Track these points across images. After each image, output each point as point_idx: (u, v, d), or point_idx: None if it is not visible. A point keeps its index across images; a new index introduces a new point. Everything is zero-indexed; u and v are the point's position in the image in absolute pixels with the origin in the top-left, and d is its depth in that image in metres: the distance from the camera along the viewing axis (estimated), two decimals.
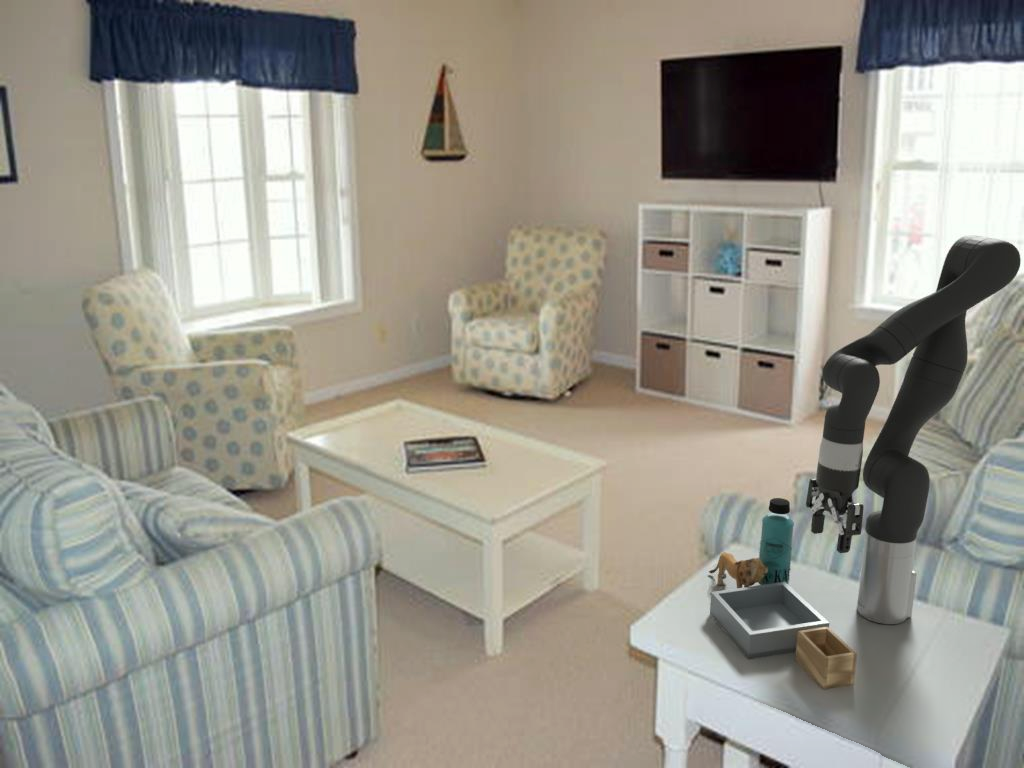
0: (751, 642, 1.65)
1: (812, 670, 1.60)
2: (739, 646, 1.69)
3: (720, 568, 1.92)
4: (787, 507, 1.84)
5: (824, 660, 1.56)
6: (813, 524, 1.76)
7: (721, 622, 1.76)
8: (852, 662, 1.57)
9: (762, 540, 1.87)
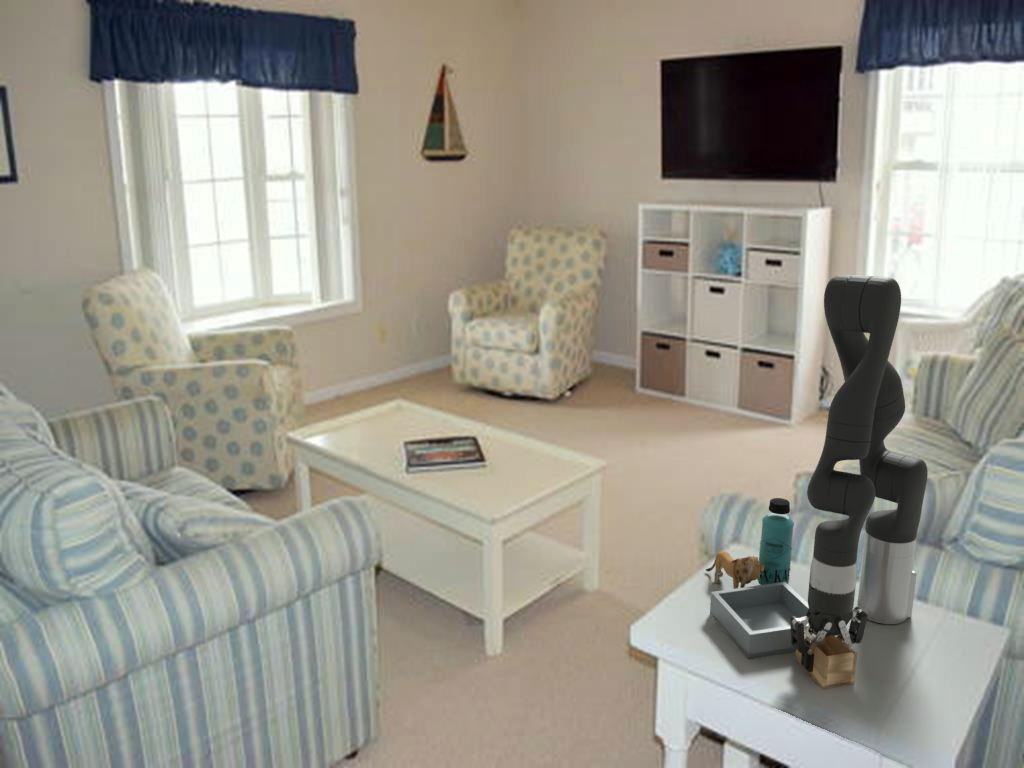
0: (751, 642, 1.65)
1: None
2: (739, 646, 1.69)
3: (717, 566, 1.93)
4: (787, 507, 1.84)
5: (824, 660, 1.56)
6: (812, 663, 1.60)
7: (721, 622, 1.76)
8: (852, 662, 1.57)
9: (762, 540, 1.87)
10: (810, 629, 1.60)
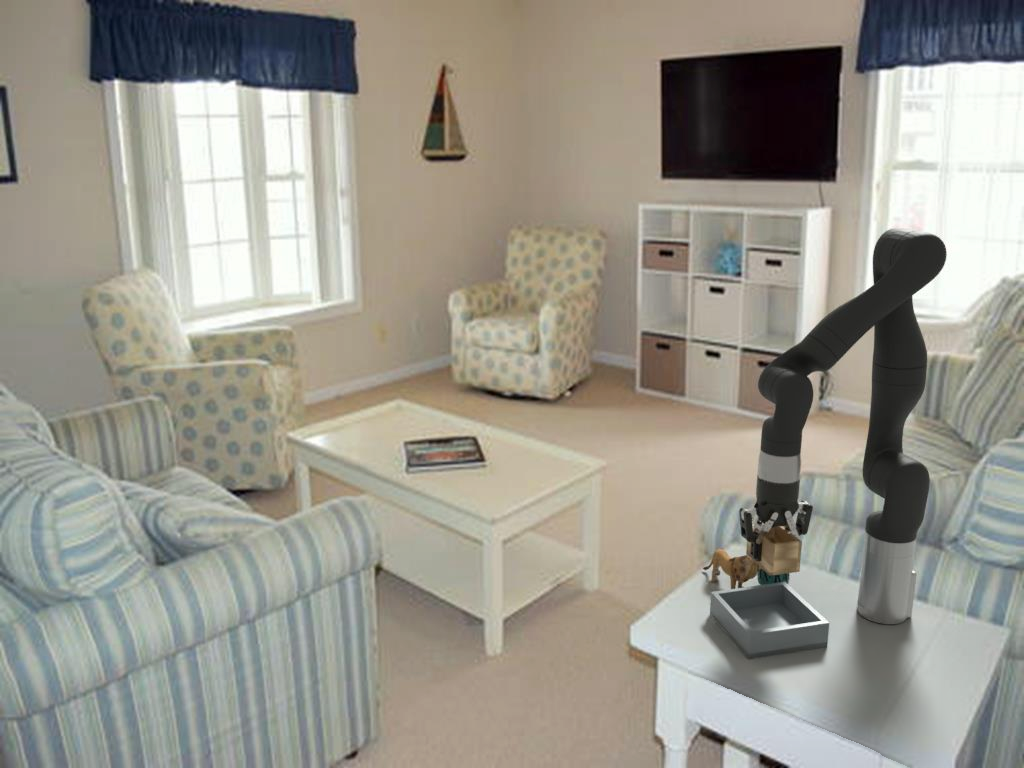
0: (751, 642, 1.65)
1: None
2: (739, 646, 1.69)
3: (714, 565, 1.93)
4: None
5: (771, 547, 1.65)
6: (760, 552, 1.69)
7: (721, 622, 1.76)
8: (797, 550, 1.66)
9: None
10: (759, 521, 1.69)
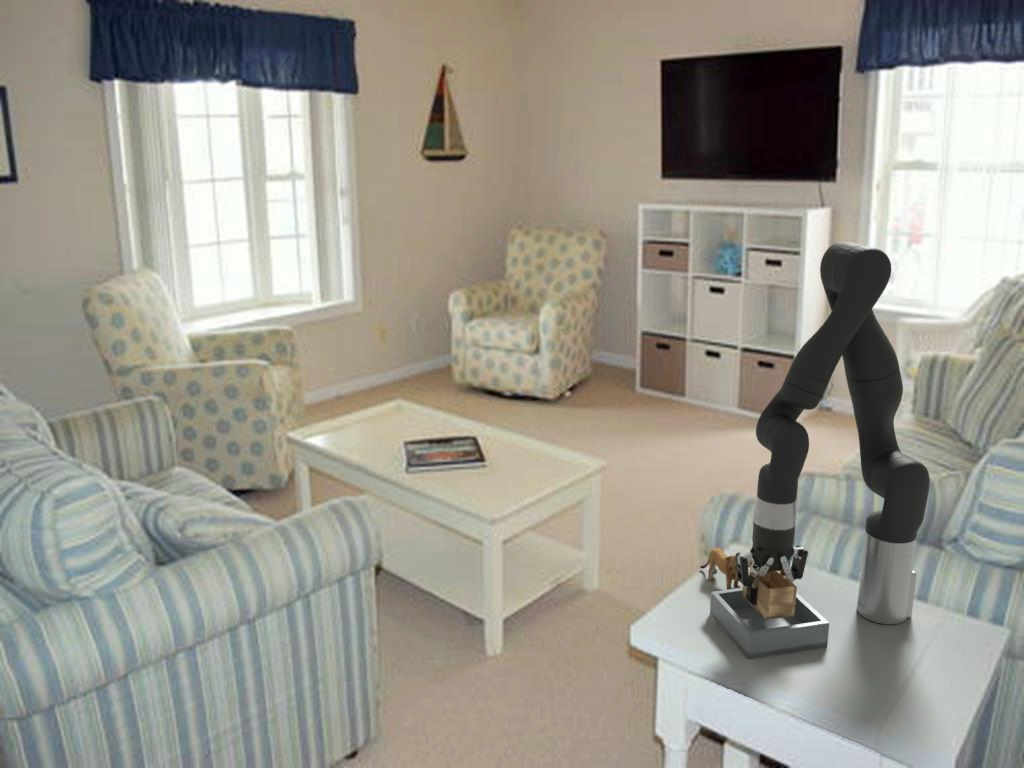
0: (751, 642, 1.65)
1: None
2: (739, 646, 1.69)
3: (710, 563, 1.94)
4: None
5: (766, 592, 1.68)
6: (756, 596, 1.71)
7: (721, 622, 1.76)
8: (792, 595, 1.69)
9: None
10: (754, 565, 1.72)
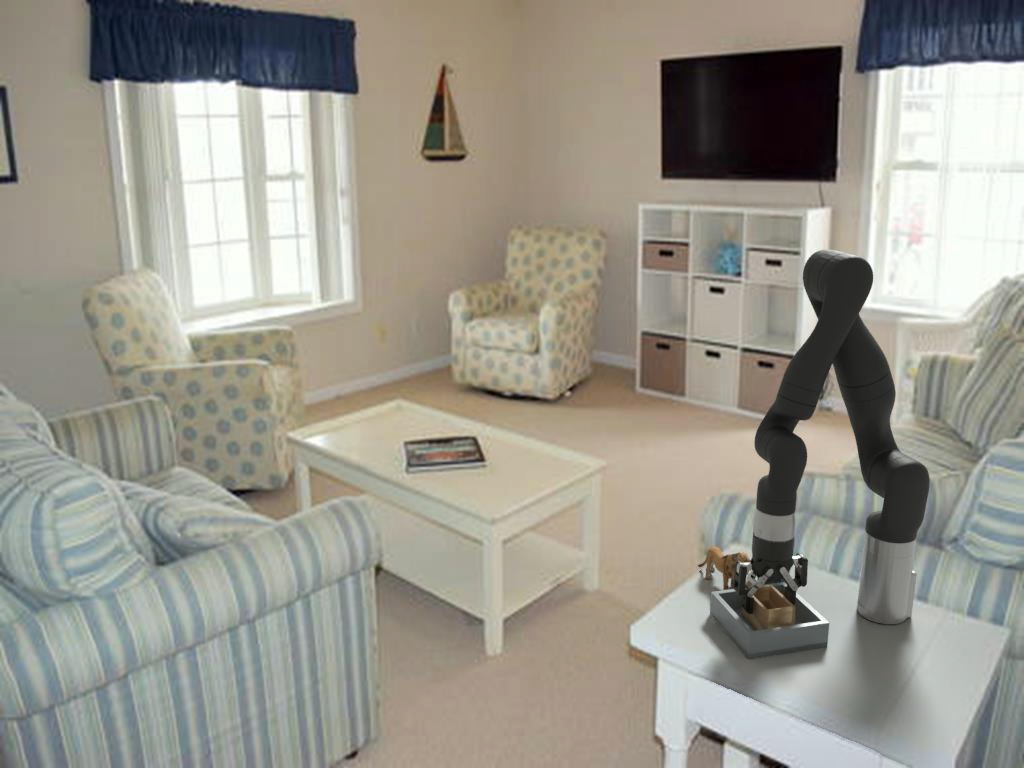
0: (751, 642, 1.65)
1: (755, 623, 1.73)
2: (739, 646, 1.69)
3: (708, 562, 1.95)
4: None
5: (765, 613, 1.69)
6: (752, 605, 1.72)
7: (721, 622, 1.76)
8: (791, 615, 1.70)
9: None
10: (752, 575, 1.73)
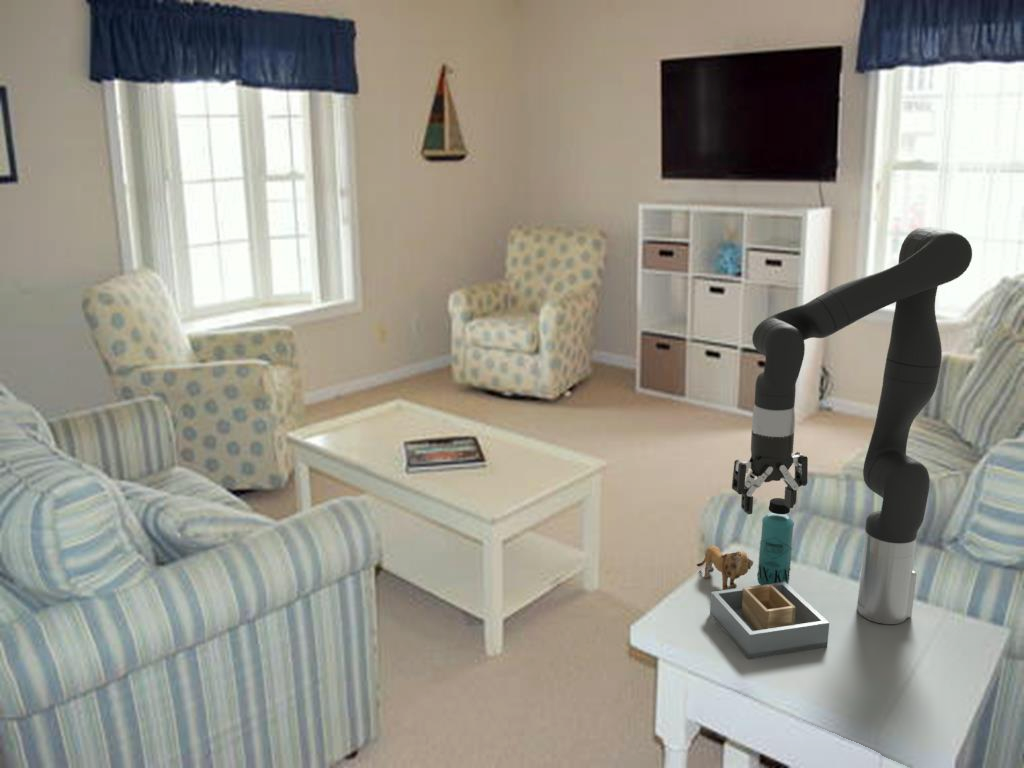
0: (751, 642, 1.65)
1: (755, 623, 1.73)
2: (739, 646, 1.69)
3: (707, 561, 1.95)
4: (787, 507, 1.84)
5: (765, 613, 1.69)
6: (751, 505, 1.70)
7: (721, 622, 1.76)
8: (791, 615, 1.70)
9: (762, 540, 1.87)
10: (751, 475, 1.70)
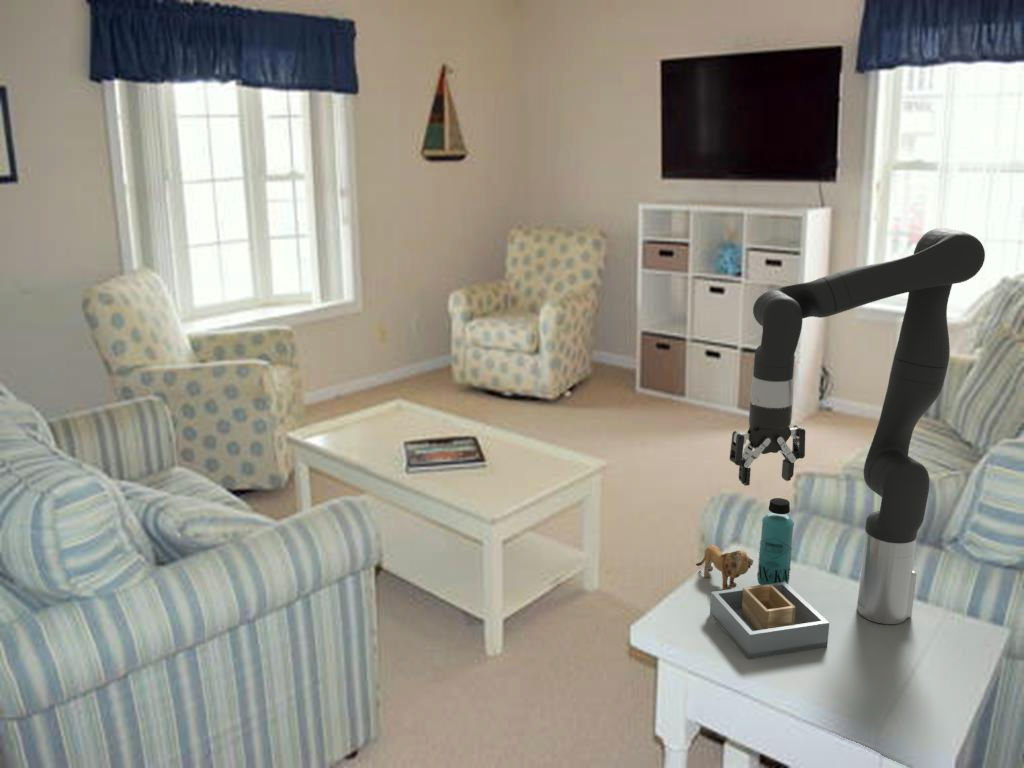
0: (751, 642, 1.65)
1: (755, 623, 1.73)
2: (739, 646, 1.69)
3: (706, 561, 1.95)
4: (787, 507, 1.84)
5: (765, 613, 1.69)
6: (749, 476, 1.71)
7: (721, 622, 1.76)
8: (791, 615, 1.70)
9: (762, 540, 1.87)
10: (749, 447, 1.72)
